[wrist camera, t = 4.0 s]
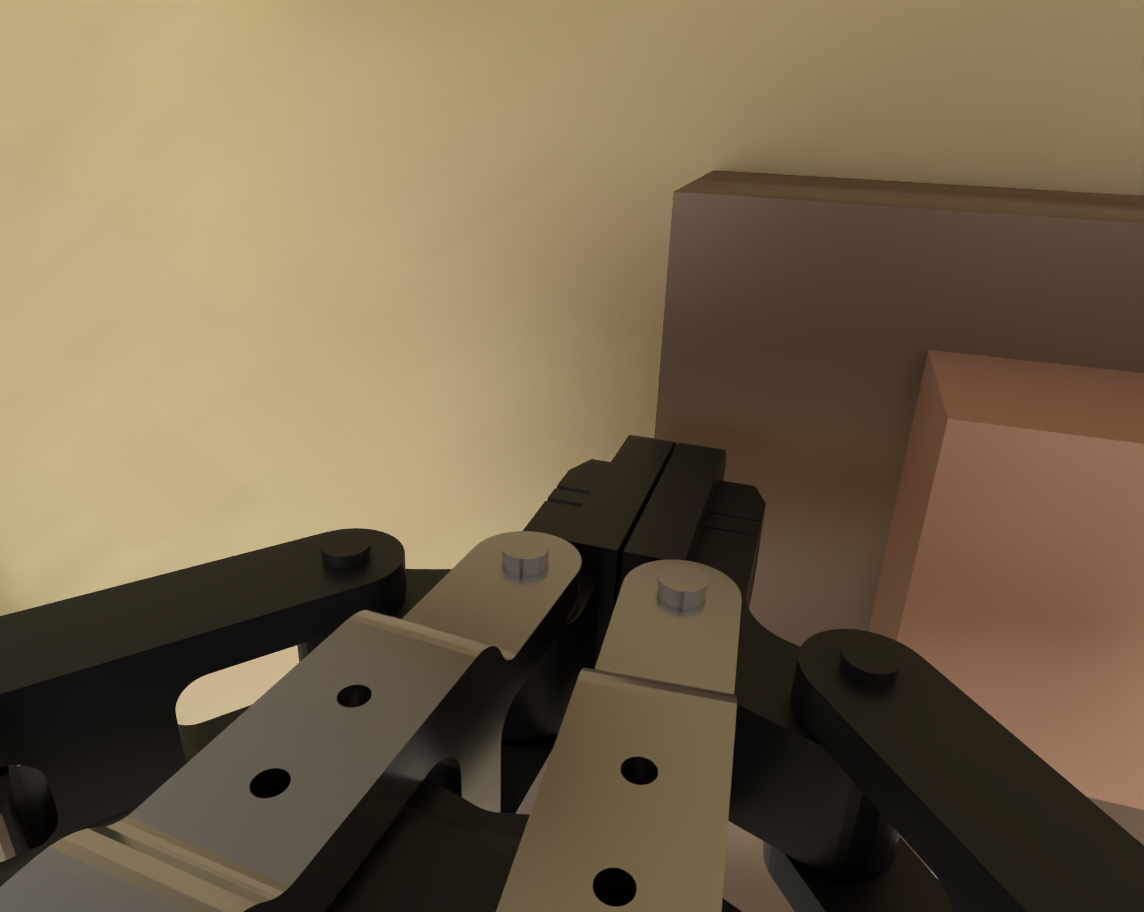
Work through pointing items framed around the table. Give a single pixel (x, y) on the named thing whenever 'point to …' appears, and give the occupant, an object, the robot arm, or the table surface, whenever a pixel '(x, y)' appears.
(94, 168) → the table surface
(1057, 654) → the terracotta block
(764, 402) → the brown wooden block
